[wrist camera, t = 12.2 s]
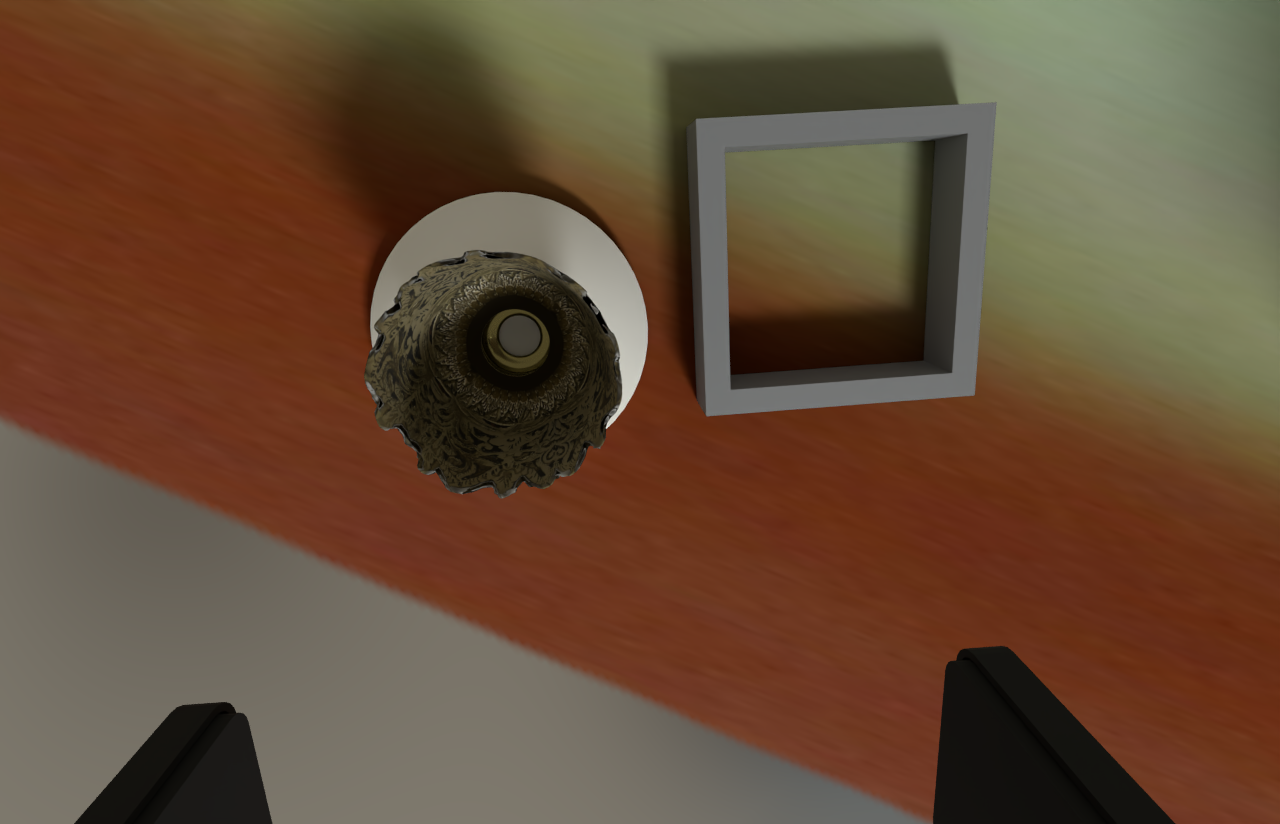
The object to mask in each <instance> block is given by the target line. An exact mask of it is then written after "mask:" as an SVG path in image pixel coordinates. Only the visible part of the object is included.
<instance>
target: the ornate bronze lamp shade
mask: <svg viewBox="0 0 1280 824" xmlns="http://www.w3.org/2000/svg"><path fill="white" fill-rule="evenodd" d="M393 301H394V303H395V305H394V306H393V307H392V308H390V309H389V310H387V311H385V312H384V313H383V315H382V316H381V317H380V318H379V319H378V320H377V322H376V323H375V325H374V329H375V331H376V332H377V333H378V337H377V340H376V343H375V345H374V347H373V349H372V350H371V351H370V352H369V356H368V360H367V364H366V368H365V374H364V378H365V383H366V386H367V388H368V390H369V391H370V393H371V394H372V398H373V399H374V401H375V403H376V404H377V407H376V410H375V417H376V420H377V423H378V425H379V427H380V428H382V429H383V430H389V429H393V428H397V429H398V430H399V431H400V433H401V434H402V435H403V438H404V442H405V444H406V445H408V446H409V447H411V448H413V449H414V450H415V451H416V452H417V458H418V459H419V460H418V464H417V467H418V469H419V470H420V471H421V472H422V473H423V474H427V475H430V474H433V473H435V472H436V473H437V474H438V476H439V477H440V479H441V481H442V482H443V484H444V485H445V487H446V488H447V489H448V490H449V491H451V492H454V493H459V494H466V493H470V492H474V491H477V490H479V489H481V488H486V487H493V489H494V493H495V494H497V495H498V497H499V498H505V497H507V496H509V495H511V494H513V493H515V492H516V490H517V488H518V486H519V485H520V484H521V483H522V482H525V483H526V484H527V485H528V486H529V487H533V486H534V487H537V488H540V489H545V488H547V487H549V486H550V485H552V484H553V482H554V480H555V479H557V478H559V476H562V477H565V476H571V475H572V474H574V473H575V472H576V471H577V470H578V469H579V467H580V466H581V464H582V462H583V460H584V458H585V456H586V452H587V449H588V447H589V446H593V448H599V449H600V447H601V446H602V445H603V443H604V440H605V438H606V426H607V423H608V421H609V420H610V418H611V417H612V416H613V415H614V414H615V413H616V412H617V410H618V408H619V406H620V403H621V400H622V378H621V371H620V364H619V360H620V352H619V346H618V343H617V340H616V337H615V335H614V333H613V332H611V331H610V329H609V328H608V326H607V324H606V322H605V320H604V318H603V316H602V314H601V312H600V310H599V309H598V308H597V307H596V305H595V304H594V303H593V301H592V300H591V299H590V298H589V296H588V295H587V291H586V290H585V289H584V288H583V287H582V286H581V285H579V284H578V283H577V282H576V281H574V280H573V279H572V278H570V277H569V276H567V275H566V274H564V273H562V272H560V271H559V270H557V269H555V268H554V267H553V266H551V265H549V264H547V263H546V262H544V261H542V260H540V259H537V258H535V257H532V256H528V255H524V254H519V253H512V252H487V251H484V250H472V251H466V252H464V254H463V256H462V257H459V258H451V259H445V260H440V261H437V262H434V263H432V264H429V265H427V266H425V267H423V268H422V269H420V270H419V271H418V272H417V276H413V277H412V278H411V279H410V280H409V281H408V282H406V283H404V284H403V285H402V286H401V287H400V288H399V291H398V294H397V296H396V297H395V298H394V300H393ZM513 316H525V317H528V318H530V319H531V320H533V321H534V322H535V323H536V325H537V326H538V328H539V331H540V342H539V345H538V346H537V348H536V349H535V350H534V351H533V352H532V353H530V354H528V355H525V356H515V355H512V354H510V353H509V352H507V351H506V350H505V349H504V348H503V347H502V345H501V343H500V339H499V331H500V328H501V326H502V324H503V323H504V322H505V321H506V320H507V319H509V318H510V317H513Z"/></svg>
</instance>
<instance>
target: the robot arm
mask: <svg viewBox="0 0 1280 824" xmlns="http://www.w3.org/2000/svg"><path fill="white" fill-rule="evenodd" d="M74 824H272V820H271V816H270V812H269V808H268V803H267V799H266V795H265V790H264V786H263V782H262V777H261V773H260V769H259V765H258V760H257V756H256V752H255V748H254V743H253V739H252V735H251V731H250V726H249V722H248V720H247V717H246V716H245V715H244V714H243V713H236V711H235V709H234V707H233V706H232V705H231V704H230V703H227V702H219V703H205V704H192V705H182V706H179V707H177V708H176V709H175V710H173V712H171V713H170V714H169V715H168V717H167V718H166V719H165V720H164V721H163V722H162V723H161V725H160V726H159V727H158V728H157V729H156V730H155V731H154V733H153V734H152V735H151V736H150V737H149V738H148V740H147V741H146V742H145V743H144V744H143V745H142V747H141V748H140V749H139V750H138V751H137V752H136V754H135V755H134V756H133V757H132V758H131V759H130V760H129V761H128V762H127V764H126V765H125V766H124V767H123V768H122V769H121V771H120V772H119V773H118V774H117V775H116V777H114V779H113V780H112V781H111V782H110V783H109V784H108V785H107V787H106V788H105V789H104V790H103V791H102V792H101V794H100V795H99V796H98V797H97V798H96V799H95V801H94V802H93V803H92V804H91V805H90V806H89V807H88V808H87V810H86V811H85V812H84V813H83V814H82V815H81V816H80V818H79V819H78V820H77V821H76V822H75V823H74ZM933 824H1175V823H1174V822H1173V821H1172V820H1171V819H1170V818H1169V817H1168V815H1167V814H1166V813H1165V812H1164V811H1163V810H1162V809H1161V808H1160V807H1159V806H1158V805H1157V804H1156V803H1155V802H1154V801H1153V800H1152V799H1151V797H1150V796H1149V795H1148V794H1147V793H1146V792H1145V791H1144V790H1143V789H1142V788H1141V787H1140V786H1139V785H1138V784H1137V783H1136V782H1135V780H1134V779H1133V778H1132V777H1131V776H1130V775H1129V774H1128V773H1127V772H1126V771H1125V770H1124V769H1123V768H1122V767H1121V766H1120V765H1119V764H1118V762H1117V761H1116V760H1115V759H1114V758H1113V757H1112V756H1111V755H1110V754H1109V753H1108V752H1107V751H1106V750H1105V749H1104V748H1103V747H1102V746H1101V744H1100V743H1099V742H1098V741H1097V740H1096V739H1095V738H1094V737H1093V736H1092V735H1091V734H1090V733H1089V732H1088V731H1087V730H1086V729H1085V727H1084V726H1083V725H1082V724H1081V723H1080V722H1079V721H1078V720H1077V719H1076V718H1075V717H1074V716H1073V715H1072V714H1071V713H1070V712H1069V711H1068V709H1067V708H1066V707H1065V706H1064V705H1063V704H1062V703H1061V702H1060V701H1059V700H1058V699H1057V698H1056V697H1055V696H1054V695H1053V694H1052V693H1051V691H1050V690H1049V689H1048V688H1047V687H1046V686H1045V685H1044V684H1043V683H1042V682H1041V681H1040V680H1039V679H1038V678H1037V677H1036V676H1035V675H1034V673H1033V672H1032V671H1031V670H1030V669H1029V668H1028V667H1027V666H1026V665H1025V664H1024V663H1023V662H1022V661H1021V660H1020V659H1019V658H1018V656H1017V655H1016V654H1015V653H1014V652H1013V651H1011V650H1010V649H1009V648H1008V647H1004V646H996V647H982V648H968V649H963V650H961V651H960V652H959V653H958V655H957V660H956V661H950V662H948V664H947V666H946V670H945V681H944V693H943V705H942V717H941V729H940V741H939V753H938V765H937V777H936V789H935V801H934V813H933Z"/></svg>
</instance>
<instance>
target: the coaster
mask: <svg viewBox="0 0 1280 824" xmlns="http://www.w3.org/2000/svg"><path fill="white" fill-rule="evenodd" d="M472 250H484V251H487V252H512V253H519V254H524V255H528V256H532V257H535V258H537V259H540V260H542V261H544V262H546V263H547V264H549V265H551V266H553V267H554V268H555V269H557V270H559V271H560V272H562V273H564V274H566V275H567V276H569V277H570V278H572V279H573V280H574V281H576V282H577V283H578V284H579V285H581V286H582V287H583V288H584V289H585V290H586V291H587V295H588V296H589V298H590V299H591V300H592V301H593V303H594V304H595V305H596V307H597V308H598V309H599V310H600V312H601V314H602V316H603V318H604V320H605V322H606V324H607V326H608V328H609V329H610V331H611V332H613V333H614V335H615V337H616V340H617V343H618V346H619V352H620V360H619V364H620V371H621V378H622V400H621V403H620V406H619V408H618V410H617V412H616V413H615V414H614V415H613V416H612V417H611V418H610V420H609V421H608V423H607V426H606V429H607V428H608V427H609V426H610V425H611V424H612V423H613V422H614V421H615V420H616V418H617V417H618V416H619V414H620V413H621V412H622V411H623V409H624V408H625V407H626V405H627V403H628V402H629V400H630V398H631V397H632V395H633V393H634V391H635V389H636V386H637V384H638V382H639V379H640V377H641V373H642V370H643V366H644V363H645V358H646V351H647V344H648V324H647V316H646V308H645V304H644V300H643V296H642V292H641V289H640V287H639V284H638V282H637V279H636V277H635V274H634V272H633V271H632V269H631V267H630V265H629V264H628V262H627V260H626V258H625V257H624V255H623V254H622V253H621V251H620V250H619V249H618V247H617V246H616V245H615V243H614V242H613V241H612V240H611V239H610V238H609V237H608V236H607V235H606V234H605V233H604V232H603V231H602V230H601V229H600V228H599V227H597V226H596V225H595V224H594V223H592V222H591V221H590V220H589V219H587V218H586V217H584V216H583V215H581V214H579V213H578V212H576V211H574V210H573V209H571V208H569V207H567V206H564V205H562V204H560V203H558V202H555V201H553V200H550V199H546V198H543V197H539V196H536V195H531V194H524V193H517V192H492V193H484V194H476V195H473V196H469V197H465V198H462V199H458V200H456V201H453V202H451V203H449V204H447V205H444V206H442V207H440V208H438V209H437V210H435V211H433V212H432V213H430V214H428V215H427V216H425V217H424V218H423V219H421V220H420V221H419V222H418V223H417V224H415V225H414V226H413V227H412V228H411V229H410V230H409V231H408V232H407V233H406V234H405V235H404V236H403V237H402V238H401V240H400V241H399V242H398V243H397V245H396V246H395V247H394V249H393V250H392V252H391V253H390V255H389V256H388V258H387V260H386V262H385V264H384V266H383V268H382V270H381V272H380V275H379V278H378V281H377V284H376V287H375V290H374V295H373V300H372V306H371V323H370V329H371V339H372V347H374V345H375V343H376V340H377V337H378V333H377V332H376V331H375V329H374V325H375V323H376V322H377V320H378V319H379V318H380V317H381V316H382V315H383V313H384V312H385V311H387V310H389V309H390V308H392V307H393V306H394V305H395V303H394V301H393V300H394V298H395V297H396V296H397V294H398V291H399V288H400V287H401V286H402V285H403V284H404V283H406V282H408V281H409V280H410V279H411V278H412V277H413V276H417V272H418V271H419V270H420V269H422V268H423V267H425V266H427V265H429V264H432V263H434V262H437V261H440V260H445V259H451V258H459V257H462V256H463V254H464V252H466V251H472ZM499 339H500V343H501V345H502V347H503V348H504V349H505V350H506V351H507V352H509V353H510V354H512V355H515V356H525V355H528V354H530V353H532V352H533V351H534V350H535V349H536V348H537V346H538V345H539V342H540V331H539V328H538V326H537V325H536V323H535V322H534V321H533V320H531V319H530V318H528V317H525V316H513V317H510V318H509V319H507V320H506V321H505V322H504V323H503V324H502V326H501V328H500V331H499Z"/></svg>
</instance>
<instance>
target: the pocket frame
mask: <svg viewBox="0 0 1280 824" xmlns="http://www.w3.org/2000/svg"><path fill="white" fill-rule="evenodd" d="M995 116H996V102H995V103H977V104H958V105H940V106H922V107H904V108H885V109H867V110H849V111H830V112H812V113H794V114H776V115H757V116H739V117H721V118H702V119H695V120H694V121H693V122H692V123H691V124H690V125H688V126H687V127H686V130H687V157H688V183H689V209H690V235H691V261H692V288H693V314H694V340H695V366H696V392H697V401H698V403H699V405H700V406H701V408H702V410H703V411H704V413H705V415H706V416H715V415H728V414H741V413H754V412H766V411H779V410H792V409H805V408H818V407H831V406H843V405H856V404H869V403H882V402H895V401H908V400H920V399H933V398H946V397H959V396H972V395H975V383H976V369H977V356H978V343H979V329H980V316H981V303H982V289H983V276H984V263H985V249H986V236H987V223H988V209H989V196H990V182H991V169H992V156H993V142H994V129H995ZM933 140H935V154H934V172H933V191H932V210H931V229H930V247H929V266H928V285H927V304H926V322H925V341H924V360H923V361H912V362H898V363H885V364H872V365H858V366H845V367H832V368H818V369H805V370H791V371H778V372H765V373H751V374H738V375H730V346H729V305H728V264H727V223H726V182H725V152H741V151H758V150H776V149H793V148H811V147H828V146H845V145H863V144H880V143H898V142H915V141H933Z"/></svg>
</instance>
